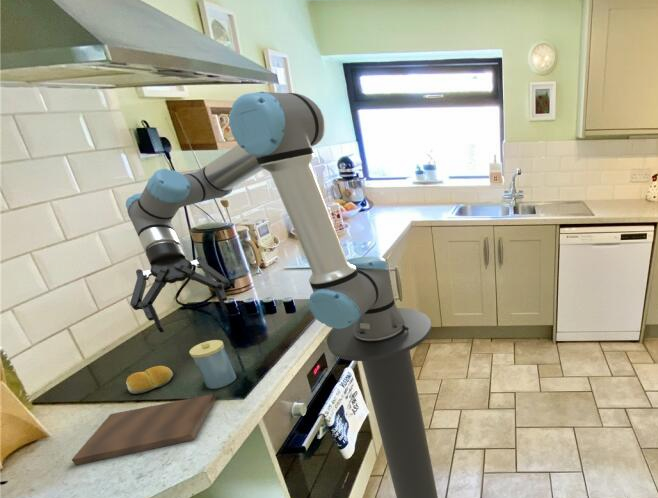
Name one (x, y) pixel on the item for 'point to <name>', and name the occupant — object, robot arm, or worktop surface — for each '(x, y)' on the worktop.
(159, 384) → the bread roll
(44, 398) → the worktop surface
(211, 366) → the butter crock
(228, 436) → the worktop surface
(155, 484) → the worktop surface
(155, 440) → the board
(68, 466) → the worktop surface
